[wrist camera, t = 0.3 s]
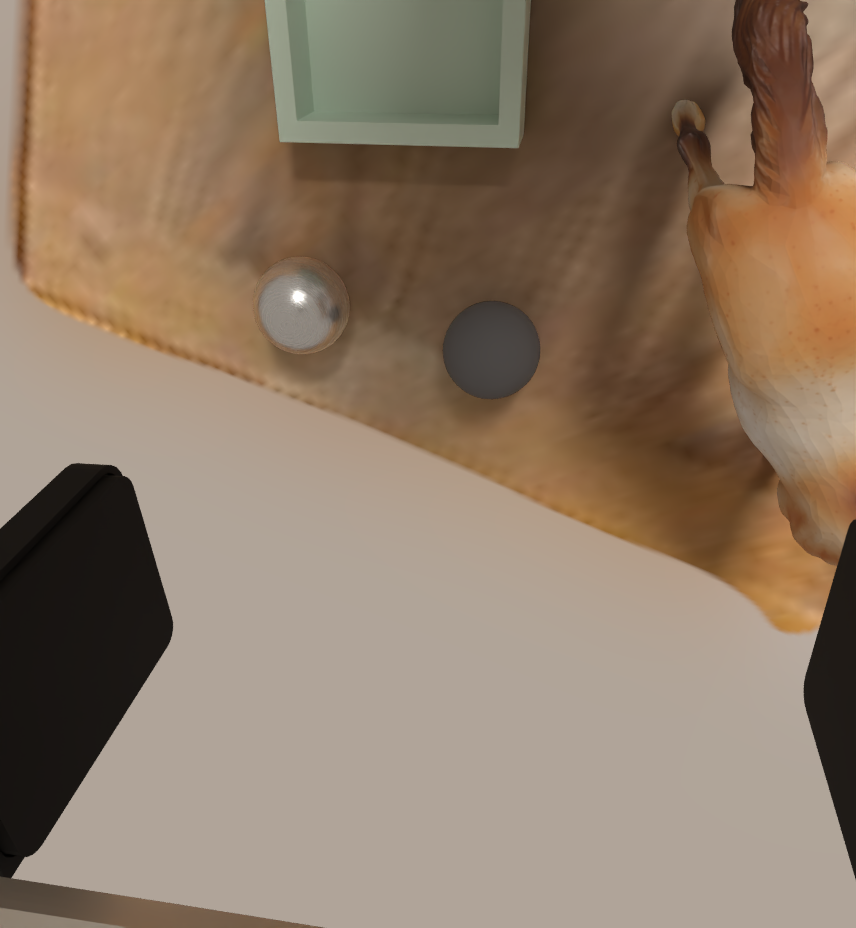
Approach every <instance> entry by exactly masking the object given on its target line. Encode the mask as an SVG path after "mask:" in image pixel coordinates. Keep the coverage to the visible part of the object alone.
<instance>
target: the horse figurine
mask: <svg viewBox="0 0 856 928" xmlns="http://www.w3.org/2000/svg"><path fill="white" fill-rule="evenodd" d="M807 6H808V3H807V2H802V1H800V0H736V2H735V6H734V22H733V27H732V41H733V48H734V52H735V55H736V57H737V60H738V64H739V66H740V68H741V70H742V73H743V80H744V84H745V85H746V86H747V87H748V88H749V89H751V92H752V95H753V101H754V103H753V107H752V111H751V123H752V130H753V131H752V133H751V143H752V149H753V151H754V153H755V167H754V185H753V186H743V185H733V184H724V183H723V182H722V180H721V179H720V178H719V176H718V174H717V173H716V171H715V170H714V169H713V167H712V163H711V149H710V143H709V140H708V138H707V136H706V134H705V133H704V132H703V130H704V128H705V118H704V115H703V113H702V111H701V110H700V108H699V107H698V105H697V104H696V103H695V102H693V101H689V100H680V101H678V102H677V103H676V104H675V106H674V108H673V110H672V113H671V114H672V123H673V128H674V131H675V132H676V134H677V135H678V136H679V138H678V141H677V147H678V150H679V153H680V155H681V157H682V159H683V160H684V162H685V163H686V165H687V166H688V170H689V178H688V202H689V208H690V214H689V217H688V222H687V235H688V239H689V243H690V247H691V251H692V254H693V256H694V259H695V262H696V265H697V267H698V270H699V272H700V275H701V278H702V283H703V287H704V294H705V297H706V301H707V305H708V308H709V312H710V315H711V319H712V322H713V326H714V329H715V332H716V334H717V337H718V339H719V342H720V344H721V347H722V349H723V352H724V354H725V357H726V359H727V362H728V374H729V383H730V389H731V395H732V398H733V402H734V406H735V409H736V412H737V415H738V417H739V420H740V423H741V425H742V428H743V429H744V431H745V432H746V434H747V435H748V437H749V438H750V440H751V441H752V443H753V444H754V445H755V446H756V447H757V448H758V449H759V451H760V452H761V453H762V454H763V455H764V456H765V458H766V459H767V460H768V461H769V462H770V464H771V465H772V467H773V468H774V469H775V471H776V473H777V475H778V477H779V479H780V480H779V483H778V488H777V496H778V503H779V507H780V510H781V512H782V514H783V515H784V516H785V517H786V518H787V519H788V520H789V521H790V527H791V531H792V535H793V537H794V539H795V540H796V542H797V543H798V544H799V545H800V546H801V547H802V548H803V549H804V550H805V551H806V552H807V553H809V554H811V555H813V556H816V557H819V558H821V559H822V560H824V561H825V562H826V563H828V564H831V565H836V566H837V565H838V562H839V558H840V555H841V551H842V548H843V544H844V541H845V537H846V534H847V531H848V528H849V525H850V523H851V522H852V521H853V520H855V519H856V171H855V170H854V169H853V168H852V167H851V166H849V165H848V164H846V163H843V162H838V161H831V162H827V152H826V145H827V128H826V125H825V115H824V110H823V106H822V104H821V102H820V100H819V98H818V96H817V95H816V91H815V88H814V86H813V83H812V81H811V77H812V73H813V54H812V42H811V39H810V36H809V35H807V28H806V26H807V24H808V19H807V17H806V15H805V14H803V11H804V10H805V9H806V8H807Z"/></svg>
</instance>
